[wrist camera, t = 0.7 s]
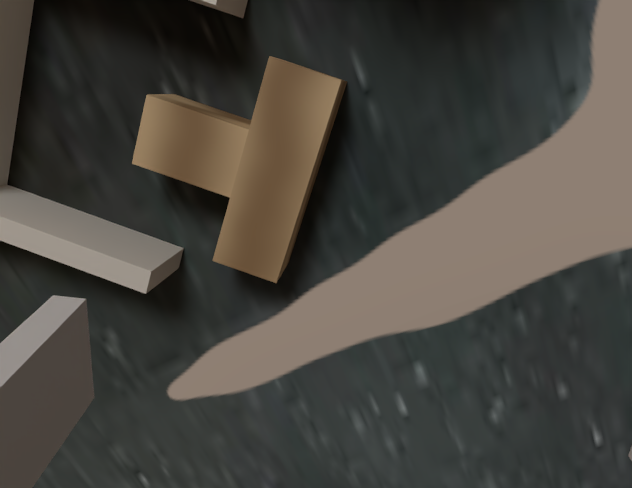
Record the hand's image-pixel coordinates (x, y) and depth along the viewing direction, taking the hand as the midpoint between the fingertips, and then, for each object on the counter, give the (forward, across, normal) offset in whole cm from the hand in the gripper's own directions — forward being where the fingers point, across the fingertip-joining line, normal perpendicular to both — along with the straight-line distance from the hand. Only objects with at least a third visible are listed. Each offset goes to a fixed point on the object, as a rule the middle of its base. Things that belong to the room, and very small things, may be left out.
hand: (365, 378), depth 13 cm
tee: (+23, +7, 0) cm, 24 cm away
